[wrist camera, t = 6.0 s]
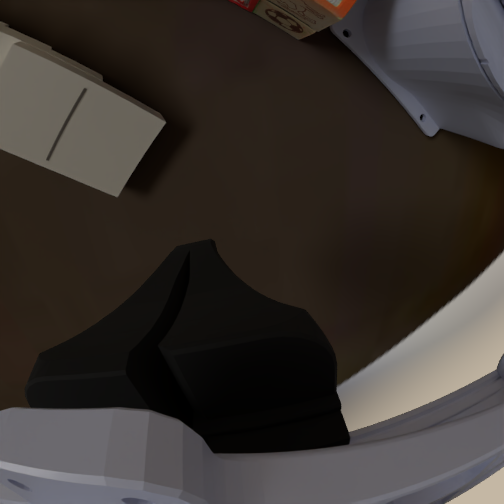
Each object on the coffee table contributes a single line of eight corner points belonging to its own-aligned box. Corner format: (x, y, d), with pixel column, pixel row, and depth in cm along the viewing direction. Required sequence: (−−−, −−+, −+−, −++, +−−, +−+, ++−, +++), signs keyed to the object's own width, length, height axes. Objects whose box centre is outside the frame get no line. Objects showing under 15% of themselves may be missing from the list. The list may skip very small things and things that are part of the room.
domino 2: (166, 122, 15) (12, 44, 8) (117, 197, 16) (-29, 137, 10) (160, 113, 16) (20, 41, 10) (115, 183, 17) (-19, 126, 11)
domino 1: (102, 80, 13) (-33, 18, 7) (58, 158, 15) (-69, 105, 8) (102, 75, 14) (-23, 17, 8) (61, 146, 16) (-58, 96, 9)
